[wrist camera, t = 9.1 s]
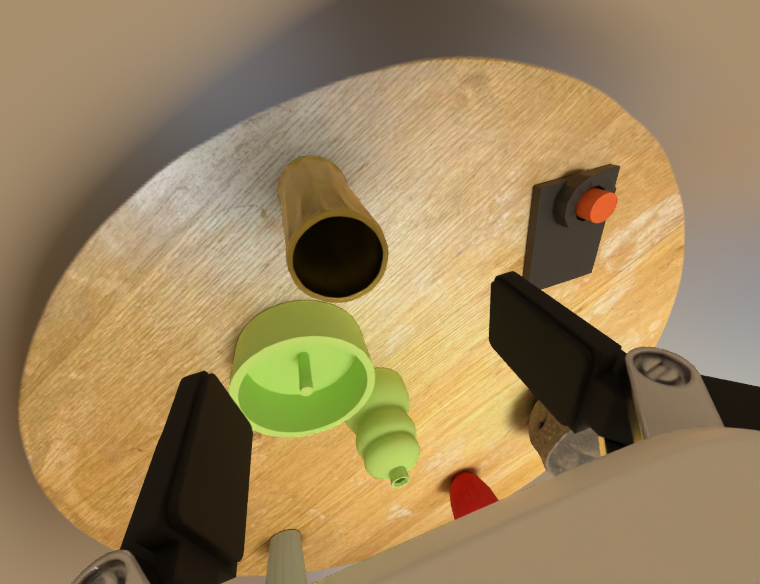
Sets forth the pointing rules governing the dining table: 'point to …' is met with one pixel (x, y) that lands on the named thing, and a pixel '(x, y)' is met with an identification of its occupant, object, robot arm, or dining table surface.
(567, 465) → the bowl
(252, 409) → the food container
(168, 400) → the dining table surface
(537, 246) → the button base plate
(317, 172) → the vase
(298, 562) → the cup
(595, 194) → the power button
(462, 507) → the apple
